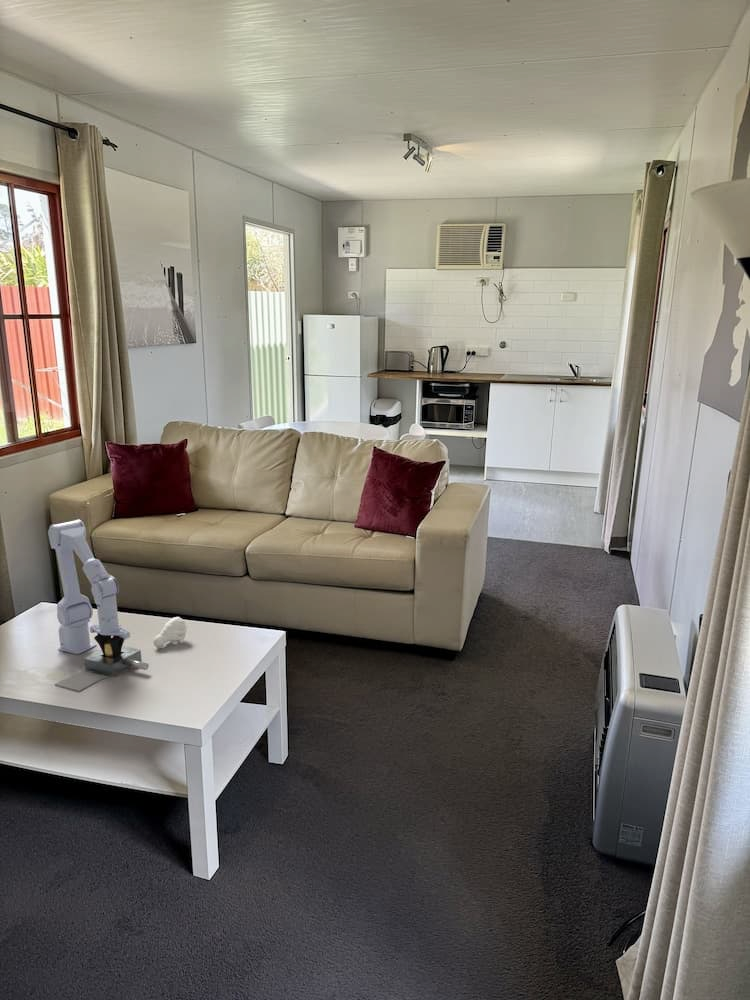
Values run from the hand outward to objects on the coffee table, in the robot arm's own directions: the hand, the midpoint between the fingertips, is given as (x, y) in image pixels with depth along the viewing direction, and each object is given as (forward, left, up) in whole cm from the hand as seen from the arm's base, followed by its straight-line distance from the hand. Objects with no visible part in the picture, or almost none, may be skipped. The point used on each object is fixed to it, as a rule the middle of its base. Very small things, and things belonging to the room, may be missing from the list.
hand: (112, 656), depth 220 cm
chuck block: (+4, 0, -3) cm, 5 cm away
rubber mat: (-1, -12, -3) cm, 12 cm away
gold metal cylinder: (0, 0, -2) cm, 2 cm away
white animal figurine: (+5, +20, -4) cm, 21 cm away
